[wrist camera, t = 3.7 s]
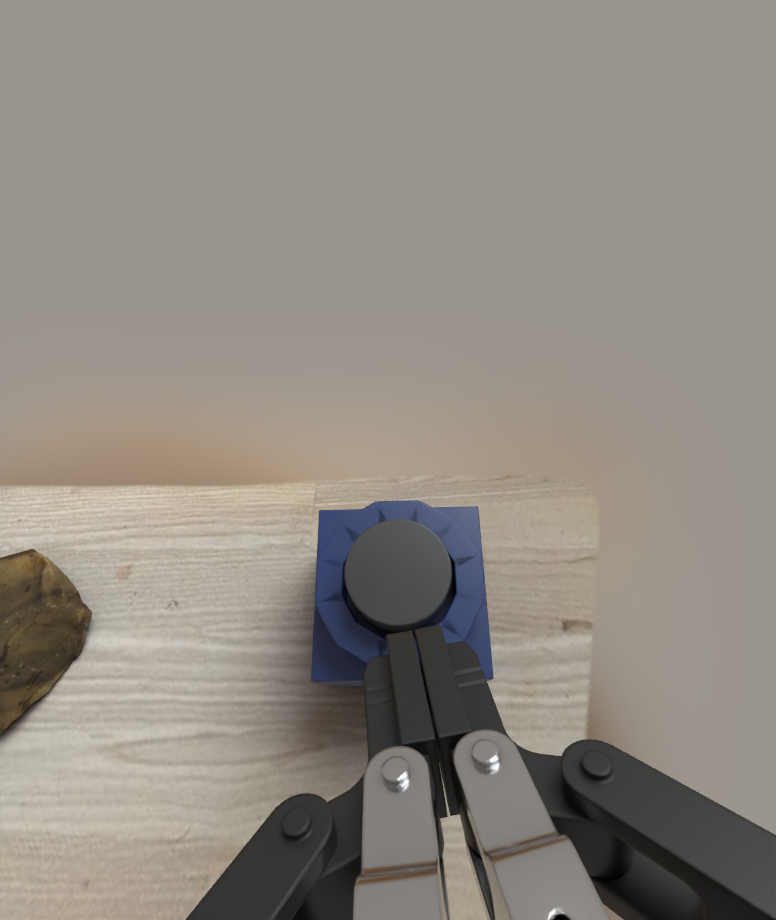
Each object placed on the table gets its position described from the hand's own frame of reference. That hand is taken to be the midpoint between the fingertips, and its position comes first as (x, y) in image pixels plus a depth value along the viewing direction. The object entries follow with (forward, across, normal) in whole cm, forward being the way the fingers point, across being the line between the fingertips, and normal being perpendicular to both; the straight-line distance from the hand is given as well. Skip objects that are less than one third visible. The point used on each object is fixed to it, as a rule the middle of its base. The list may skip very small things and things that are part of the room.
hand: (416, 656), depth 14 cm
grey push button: (+9, 0, +3) cm, 9 cm away
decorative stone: (+16, +23, +7) cm, 29 cm away
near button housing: (+14, 0, +8) cm, 16 cm away
